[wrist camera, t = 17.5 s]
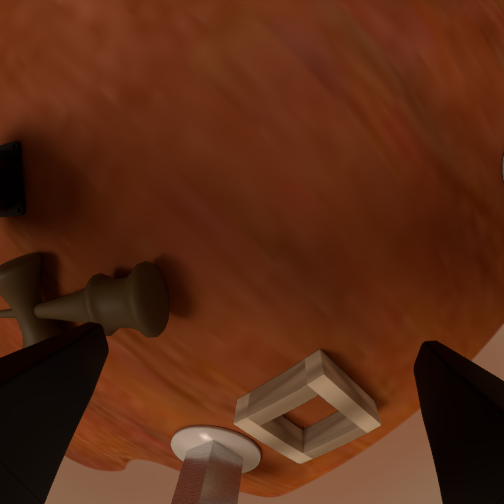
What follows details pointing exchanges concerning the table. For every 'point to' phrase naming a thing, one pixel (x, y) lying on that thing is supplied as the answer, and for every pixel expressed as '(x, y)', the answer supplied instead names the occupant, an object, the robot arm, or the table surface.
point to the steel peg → (209, 476)
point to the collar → (298, 392)
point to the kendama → (84, 301)
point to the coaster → (223, 436)
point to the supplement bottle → (503, 167)
